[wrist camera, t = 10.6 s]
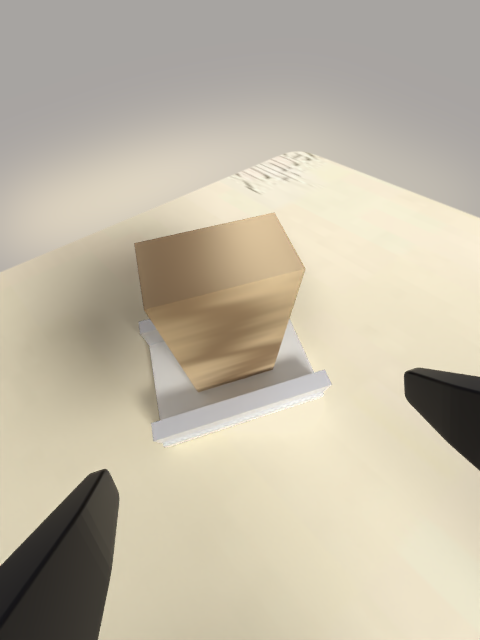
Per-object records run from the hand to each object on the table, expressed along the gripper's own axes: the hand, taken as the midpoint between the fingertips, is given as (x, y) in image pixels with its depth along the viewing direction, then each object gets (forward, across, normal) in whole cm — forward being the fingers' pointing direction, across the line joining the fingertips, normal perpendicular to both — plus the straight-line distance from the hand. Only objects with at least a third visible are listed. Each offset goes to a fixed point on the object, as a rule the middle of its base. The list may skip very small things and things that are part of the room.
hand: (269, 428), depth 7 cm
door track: (+12, 0, +3) cm, 12 cm away
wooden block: (+11, 0, +3) cm, 11 cm away
